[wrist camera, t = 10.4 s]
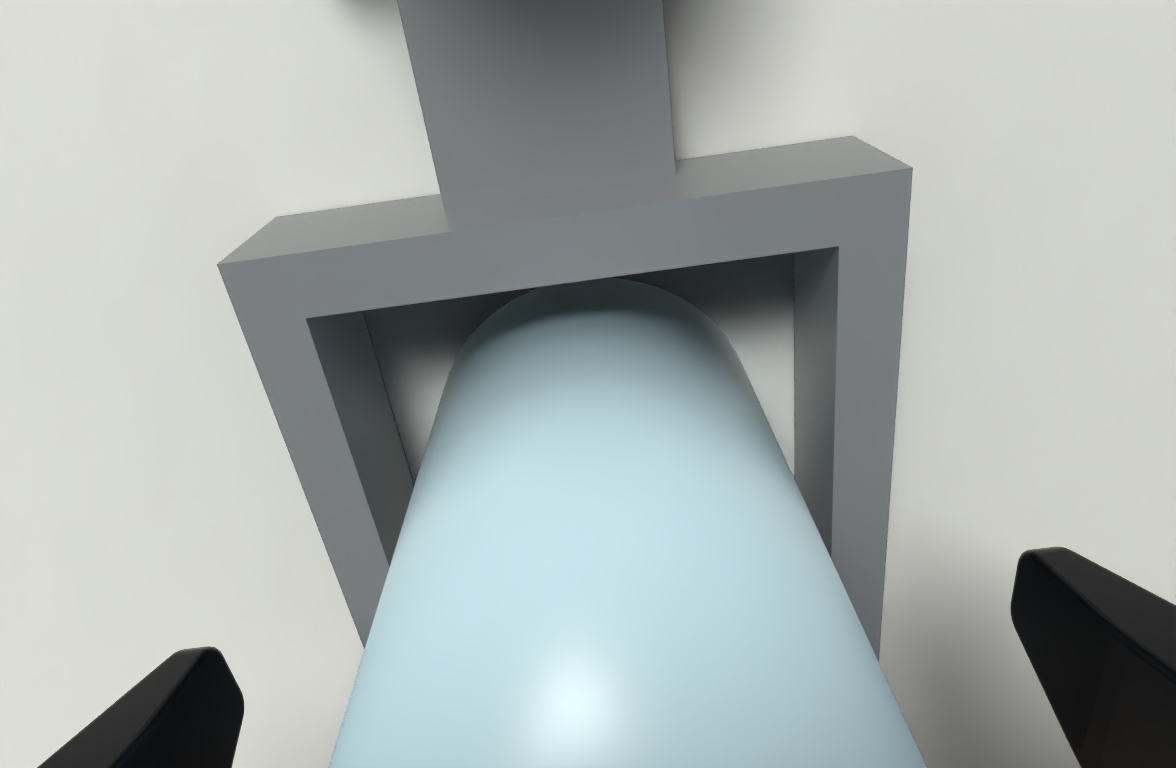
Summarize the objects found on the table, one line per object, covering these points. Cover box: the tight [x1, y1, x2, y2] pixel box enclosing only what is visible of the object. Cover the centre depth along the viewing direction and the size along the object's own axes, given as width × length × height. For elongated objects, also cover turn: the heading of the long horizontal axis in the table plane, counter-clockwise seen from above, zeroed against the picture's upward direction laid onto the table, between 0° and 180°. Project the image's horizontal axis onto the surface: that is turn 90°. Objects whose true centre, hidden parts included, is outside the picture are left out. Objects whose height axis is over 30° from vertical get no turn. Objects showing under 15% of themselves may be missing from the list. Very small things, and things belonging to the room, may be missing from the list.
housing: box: [217, 0, 913, 662], centre depth 11 cm, size 25×8×2 cm, turn 8°
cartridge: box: [329, 278, 927, 768], centre depth 8 cm, size 5×5×9 cm
